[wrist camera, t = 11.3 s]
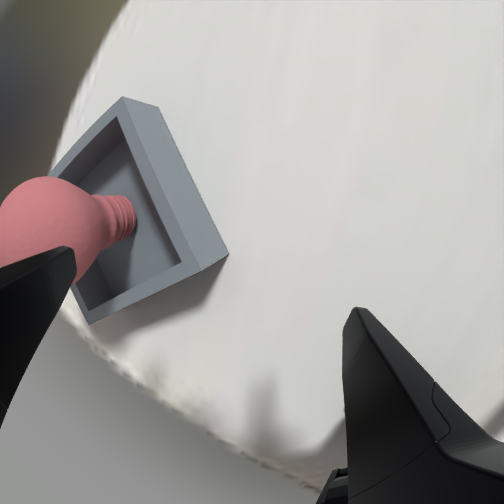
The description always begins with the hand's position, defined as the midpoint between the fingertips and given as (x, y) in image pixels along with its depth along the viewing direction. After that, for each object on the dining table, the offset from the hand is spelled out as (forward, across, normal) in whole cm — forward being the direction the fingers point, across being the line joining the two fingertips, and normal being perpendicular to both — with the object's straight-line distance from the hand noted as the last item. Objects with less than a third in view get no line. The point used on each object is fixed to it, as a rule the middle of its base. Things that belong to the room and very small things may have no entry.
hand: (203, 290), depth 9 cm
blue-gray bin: (+14, +9, +6) cm, 18 cm away
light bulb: (+14, +9, +5) cm, 17 cm away
